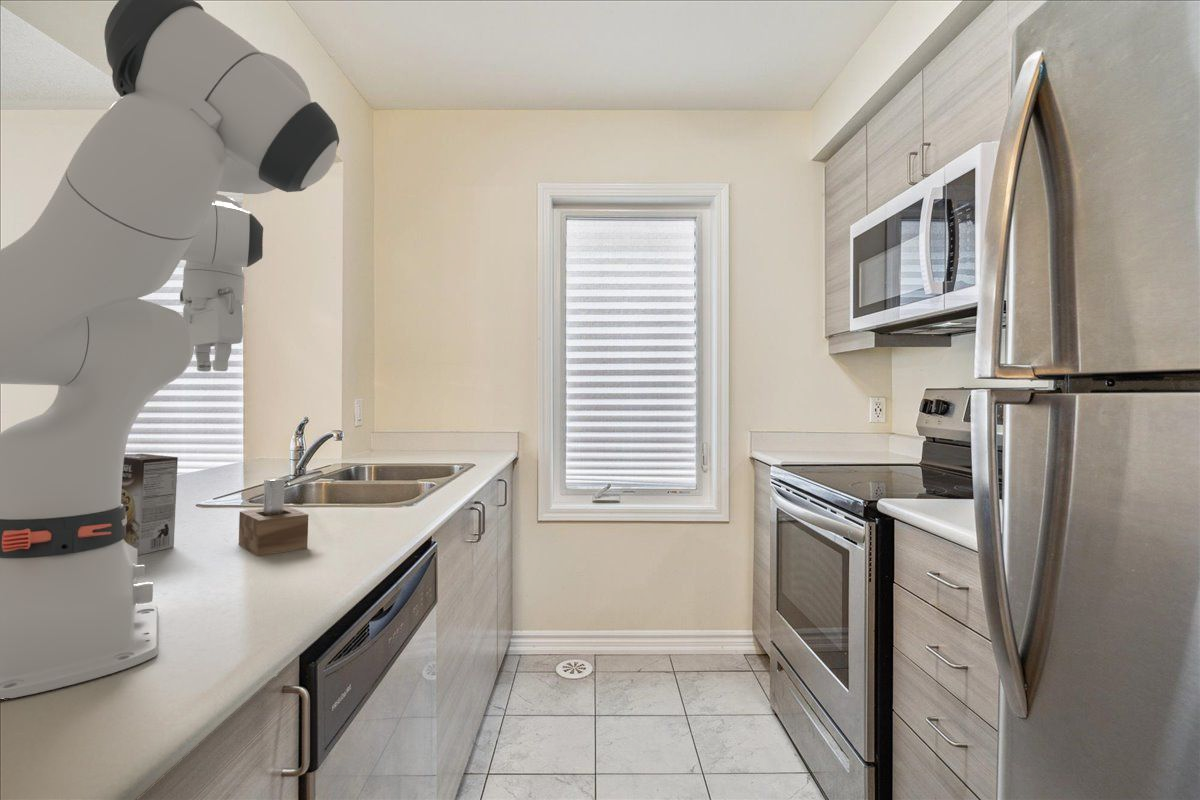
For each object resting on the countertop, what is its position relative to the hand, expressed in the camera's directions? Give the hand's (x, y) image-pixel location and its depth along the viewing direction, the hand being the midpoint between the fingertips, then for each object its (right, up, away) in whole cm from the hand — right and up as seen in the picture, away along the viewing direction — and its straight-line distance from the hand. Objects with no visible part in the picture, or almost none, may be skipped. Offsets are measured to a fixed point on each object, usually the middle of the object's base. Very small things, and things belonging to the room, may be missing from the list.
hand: (211, 371), depth 100 cm
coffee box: (-12, -31, -1) cm, 33 cm away
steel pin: (+9, -29, +3) cm, 31 cm away
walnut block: (+9, -31, +3) cm, 33 cm away
